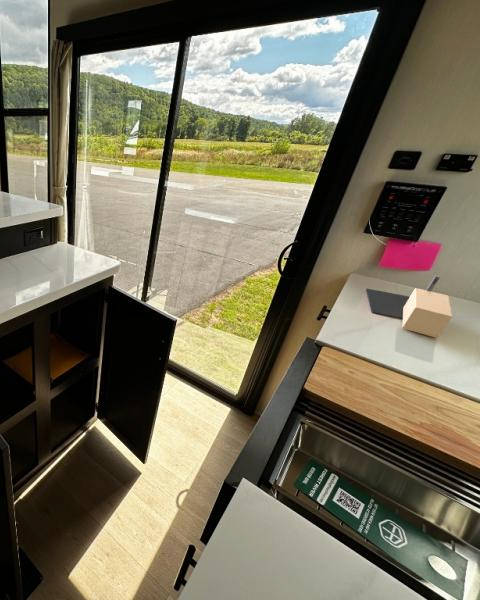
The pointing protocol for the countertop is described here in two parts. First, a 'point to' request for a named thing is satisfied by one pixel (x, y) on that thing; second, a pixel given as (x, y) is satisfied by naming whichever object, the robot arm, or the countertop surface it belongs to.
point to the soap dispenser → (427, 311)
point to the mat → (387, 303)
